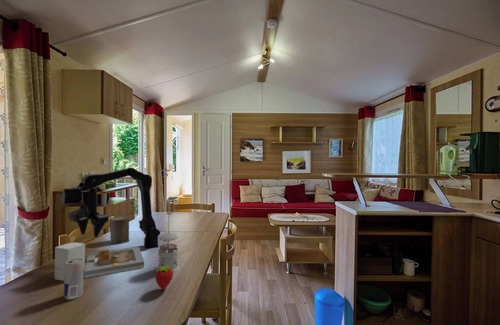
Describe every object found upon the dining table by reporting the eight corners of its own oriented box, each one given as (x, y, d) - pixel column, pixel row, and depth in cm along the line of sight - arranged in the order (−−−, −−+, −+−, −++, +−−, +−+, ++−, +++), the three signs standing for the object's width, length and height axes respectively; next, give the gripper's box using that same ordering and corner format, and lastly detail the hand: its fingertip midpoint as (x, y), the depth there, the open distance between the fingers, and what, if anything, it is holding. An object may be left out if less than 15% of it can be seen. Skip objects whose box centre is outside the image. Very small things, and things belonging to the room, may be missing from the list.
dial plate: (138, 251, 129) (138, 246, 129) (144, 267, 110) (144, 260, 110) (88, 259, 118) (88, 253, 118) (84, 278, 99) (84, 270, 99)
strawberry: (175, 285, 94) (176, 258, 94) (168, 295, 87) (169, 266, 87) (160, 284, 95) (160, 258, 95) (151, 295, 87) (152, 266, 87)
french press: (157, 275, 102) (158, 214, 102) (154, 264, 113) (155, 209, 113) (181, 270, 107) (182, 212, 107) (176, 261, 117) (177, 207, 117)
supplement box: (85, 274, 102) (86, 243, 102) (67, 282, 95) (67, 249, 95) (72, 271, 104) (73, 241, 104) (53, 279, 97) (54, 246, 97)
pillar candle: (132, 239, 149) (132, 214, 149) (122, 244, 139) (122, 217, 140) (117, 238, 150) (117, 213, 150) (106, 243, 140) (106, 217, 140)
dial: (130, 252, 123) (131, 242, 123) (133, 262, 111) (133, 251, 111) (97, 257, 116) (97, 246, 116) (96, 269, 104) (96, 256, 104)
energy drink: (70, 292, 88) (70, 258, 88) (86, 291, 88) (86, 258, 88) (60, 300, 83) (60, 264, 83) (77, 300, 83) (77, 264, 83)
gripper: (58, 202, 112) (58, 237, 112) (85, 206, 104) (84, 243, 104) (83, 199, 122) (83, 231, 122) (109, 202, 114) (109, 236, 114)
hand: (89, 235), depth 115 cm, fingers open, 9 cm apart
